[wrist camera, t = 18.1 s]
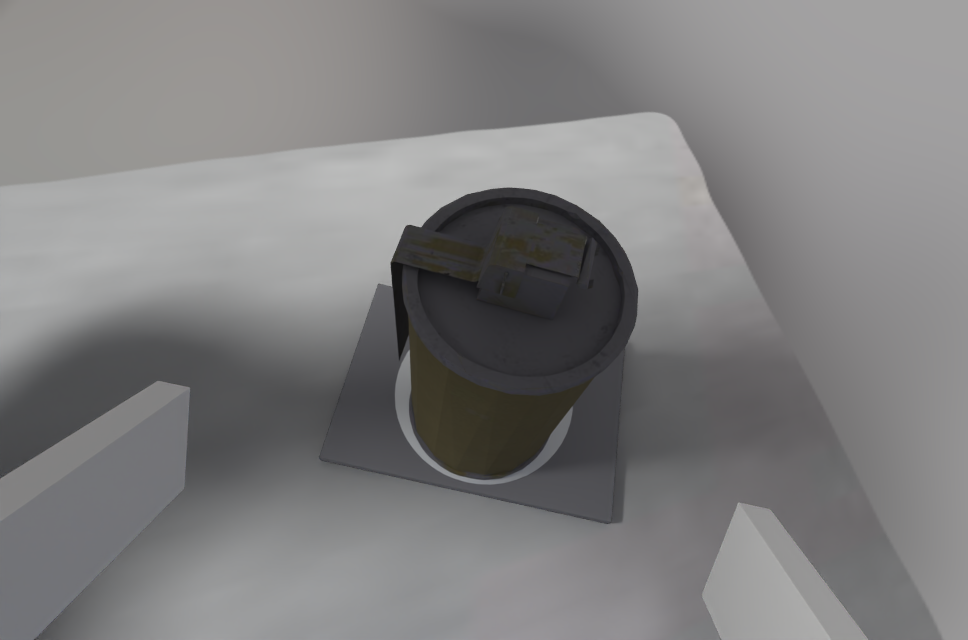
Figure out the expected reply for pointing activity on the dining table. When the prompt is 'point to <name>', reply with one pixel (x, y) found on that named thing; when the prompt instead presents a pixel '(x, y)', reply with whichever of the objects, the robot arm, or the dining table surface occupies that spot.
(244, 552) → the dining table surface
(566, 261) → the canister
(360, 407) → the circle mat
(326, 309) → the dining table surface
